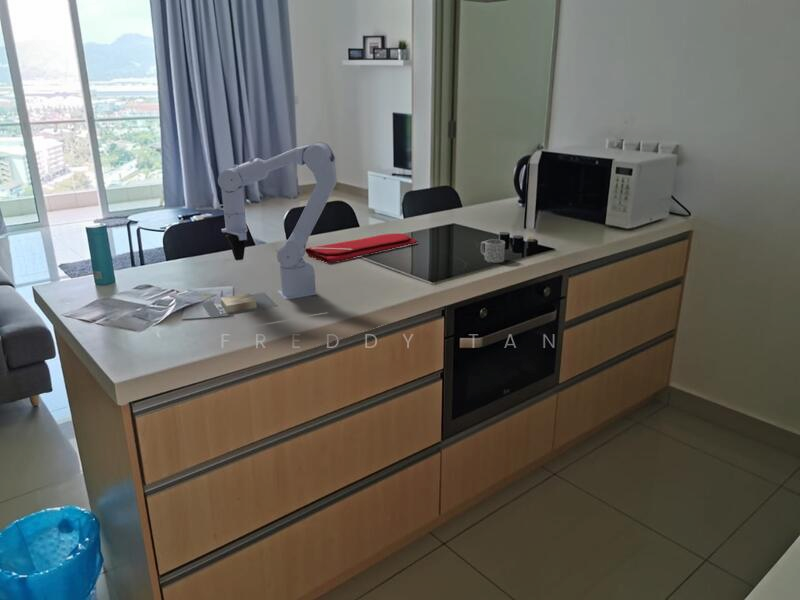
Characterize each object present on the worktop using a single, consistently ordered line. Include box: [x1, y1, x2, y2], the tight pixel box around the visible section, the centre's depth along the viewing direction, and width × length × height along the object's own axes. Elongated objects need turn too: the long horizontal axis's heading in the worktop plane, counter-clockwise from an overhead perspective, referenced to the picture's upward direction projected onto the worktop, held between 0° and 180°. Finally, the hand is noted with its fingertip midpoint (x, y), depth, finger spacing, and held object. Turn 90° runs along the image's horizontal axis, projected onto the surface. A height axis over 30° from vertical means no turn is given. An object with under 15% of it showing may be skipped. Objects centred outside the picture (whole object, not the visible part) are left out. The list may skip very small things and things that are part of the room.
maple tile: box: [219, 293, 257, 313], centre depth 164 cm, size 8×2×7 cm
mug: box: [480, 238, 506, 264], centre depth 207 cm, size 10×7×7 cm, turn 37°
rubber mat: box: [201, 292, 279, 319], centre depth 166 cm, size 18×13×1 cm
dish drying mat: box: [305, 233, 419, 264], centre depth 221 cm, size 16×41×4 cm, turn 130°
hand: (239, 259), depth 172 cm, fingers closed
